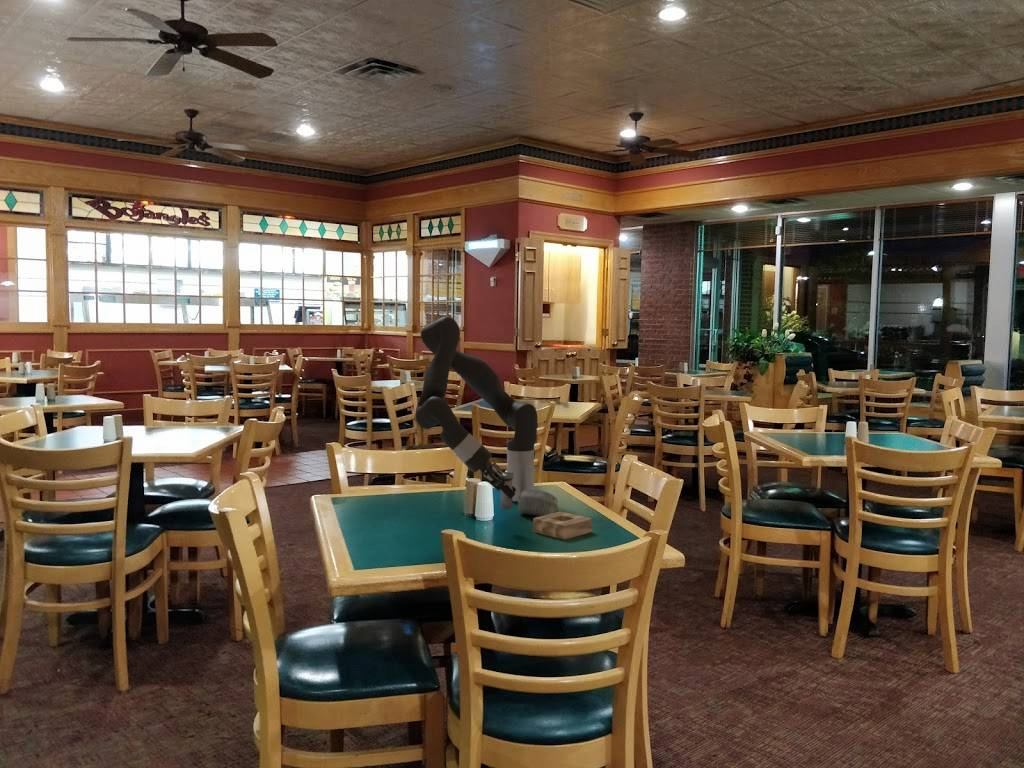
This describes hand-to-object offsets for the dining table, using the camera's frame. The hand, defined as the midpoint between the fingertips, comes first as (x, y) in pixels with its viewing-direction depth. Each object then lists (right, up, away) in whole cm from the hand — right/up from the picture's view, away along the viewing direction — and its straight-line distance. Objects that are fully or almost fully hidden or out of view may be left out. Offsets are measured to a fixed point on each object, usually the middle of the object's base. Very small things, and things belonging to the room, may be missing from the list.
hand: (513, 494), depth 239 cm
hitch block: (+14, -11, 0) cm, 18 cm away
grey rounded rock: (+8, -10, +19) cm, 22 cm away
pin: (-2, -4, +1) cm, 5 cm away
